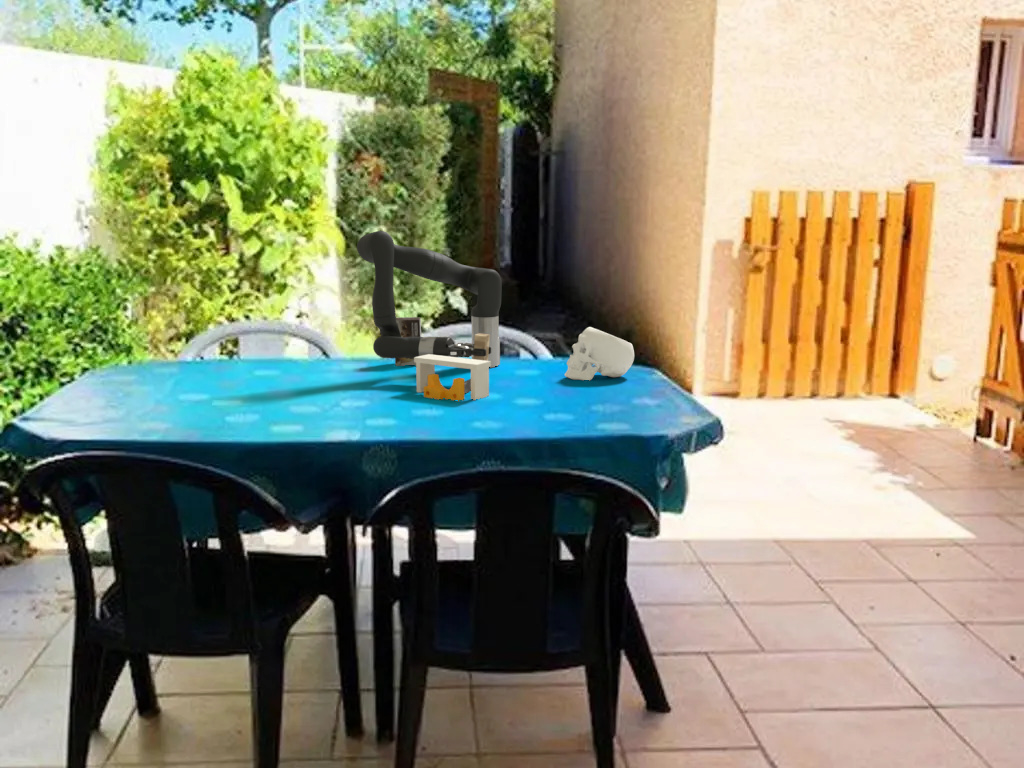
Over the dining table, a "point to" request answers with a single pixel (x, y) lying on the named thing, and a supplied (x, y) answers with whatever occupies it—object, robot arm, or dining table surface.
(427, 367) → the shelf
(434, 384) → the pipe clamp
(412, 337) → the robot arm
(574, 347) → the skull planter
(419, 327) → the coffee box
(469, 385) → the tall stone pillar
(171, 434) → the dining table surface
